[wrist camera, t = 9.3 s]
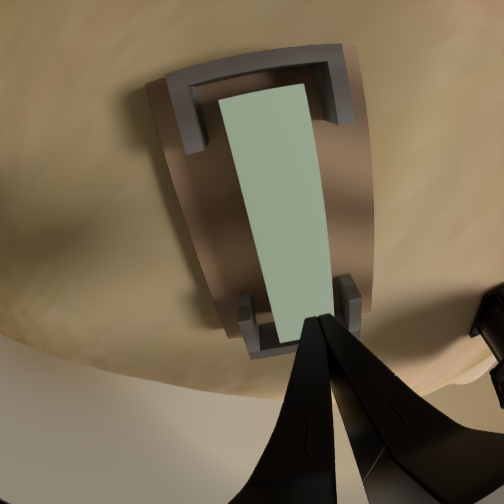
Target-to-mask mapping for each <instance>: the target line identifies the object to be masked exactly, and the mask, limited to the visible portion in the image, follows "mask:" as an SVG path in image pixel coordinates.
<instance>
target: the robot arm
mask: <svg viewBox="0 0 504 504" xmlns="http://www.w3.org/2000/svg"><path fill="white" fill-rule="evenodd" d="M478 335H481V336H482V338H483V339H484V341H485V342H486V344H487V345H488V347H489V348H490V350H491V351H492V353H493V354H494V356H495V358H496V359H497V361H498V362H499V363H498V364H497V365H496V366H495V367H494V368H493V369H492V370H491V371H490V372H489V373H490V375H491V380H492V383H493V385H494V388H495V390H496V393H497V396H498V399H499V402H500V407H501V408H502V409H504V287H502V288H499V289H497V290H494V291H492V292H490V293H487V294H486V295H485V296H484V297H483V300H482V302H481V305H480V308H479V311H478V313H477V316H476V319H475V321H474V324H473V326H472V329H471V331H470V333H469V336H470V337H471V338H473V337H475V336H478ZM394 376H395V374H394V373H393V372H392V371H391V370H390V369H389V368H388V367H387V366H386V365H385V364H384V363H383V362H382V361H380V360H379V359H378V358H377V357H376V356H375V355H374V354H373V353H372V352H371V351H370V350H369V349H368V348H367V347H366V346H365V345H364V344H362V343H361V342H360V341H359V340H358V339H357V338H356V337H355V336H354V335H353V334H352V333H351V332H350V331H349V330H348V329H346V328H345V327H344V326H343V325H342V324H341V323H340V322H339V321H338V320H337V319H336V318H335V317H334V316H333V315H331V314H330V313H326V314H321V315H319V316H318V317H317V316H312V317H307V318H305V319H304V323H303V327H302V331H301V336H300V340H299V344H298V348H297V352H296V356H295V360H294V364H293V368H292V371H291V375H290V379H289V383H288V386H287V390H286V394H285V397H284V402H283V404H282V408H281V411H280V414H279V417H278V420H277V423H276V426H275V428H274V431H273V433H272V435H271V438H270V440H269V442H268V444H267V446H266V448H265V450H264V452H263V454H262V456H261V458H260V460H259V462H258V464H257V466H256V467H255V470H254V471H253V473H252V475H251V476H250V478H249V480H248V481H247V483H246V484H245V486H244V487H243V488H242V489H241V491H240V492H239V493H238V494H237V495H236V496H235V497H234V498H233V499H232V500H231V501H230V502H229V503H228V504H337V492H336V475H335V449H334V428H333V413H332V398H331V388H332V391H333V394H334V397H335V400H336V403H337V406H338V409H339V412H340V414H341V417H342V420H343V423H344V426H345V429H346V432H347V435H348V438H349V442H350V445H351V448H352V450H353V454H354V457H355V460H356V463H357V466H358V469H359V473H360V475H361V479H362V482H363V486H364V489H365V492H366V495H367V499H368V502H369V504H504V434H502V433H494V432H488V431H482V430H475V429H471V428H467V427H464V426H462V425H460V424H458V423H456V422H455V421H453V420H452V419H450V418H449V417H448V416H446V415H445V414H443V413H442V412H441V411H439V410H438V409H436V408H435V407H434V406H432V405H431V404H430V403H428V402H427V401H425V400H424V399H423V398H422V397H420V396H419V395H418V394H416V393H415V392H414V391H413V390H412V389H411V388H409V387H408V386H407V385H406V384H405V383H404V382H403V381H402V380H401V379H400V378H399V377H398V376H395V377H394ZM0 504H9V503H8V502H6V501H4V500H2V499H0Z"/></svg>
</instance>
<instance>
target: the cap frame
mask: <svg viewBox="0 0 504 504" xmlns="http://www.w3.org/2000/svg"><path fill="white" fill-rule="evenodd" d="M297 84H304V87H305V92H306V96H307V101H308V106H309V112H310V117H311V122H312V128H313V133H314V139H315V145H316V151H317V157H318V163H319V170H320V176H321V183H322V191H323V198H324V206H325V214H326V223H327V232H328V241H329V251H330V262H331V274H332V287H333V302H334V317H335V318H336V319H337V320H338V321H339V322H340V323H341V324H342V325H343V326H344V327H345V328H346V329H348V330H349V331H350V332H351V333H352V334H353V335H354V336H355V337H356V338H357V339H358V338H360V326H361V313H364V312H368V311H371V299H372V283H373V259H374V200H373V177H372V161H371V148H370V137H369V128H368V119H367V111H366V103H365V96H364V89H363V83H362V77H361V71H360V66H359V60H358V55H357V50H356V46H342V44H322V45H308V46H298V47H288V48H280V49H273V50H266V51H260V52H254V53H248V54H243V55H238V56H233V57H228V58H224V59H219V60H215V61H211V62H207V63H203V64H199V65H195V66H192V67H188V68H185V69H181V70H178V71H175V72H171V73H168V74H165V78H162V79H159V80H156V81H153V82H150V83H147V84H145V85H146V89H147V93H148V97H149V101H150V105H151V108H152V112H153V116H154V120H155V123H156V127H157V130H158V134H159V137H160V141H161V144H162V148H163V151H164V155H165V158H166V161H167V165H168V168H169V171H170V175H171V178H172V181H173V184H174V187H175V191H176V194H177V197H178V200H179V203H180V206H181V209H182V212H183V215H184V218H185V221H186V224H187V227H188V230H189V233H190V236H191V239H192V242H193V245H194V248H195V251H196V254H197V257H198V259H199V262H200V265H201V268H202V271H203V273H204V276H205V279H206V282H207V284H208V287H209V290H210V293H211V295H212V298H213V301H214V303H215V306H216V309H217V311H218V314H219V316H220V319H221V322H222V324H223V327H224V329H225V332H226V334H227V337H228V339H231V338H238V337H243V339H244V342H245V344H246V347H247V350H248V353H249V356H250V359H251V360H253V359H259V358H265V357H271V356H277V355H283V354H289V353H294V352H297V348H298V344H299V340H300V339H298V340H294V341H289V342H284V343H280V341H279V337H278V333H277V329H276V325H275V321H274V317H273V313H272V309H271V305H270V301H269V297H268V293H267V289H266V285H265V281H264V277H263V273H262V269H261V265H260V261H259V257H258V253H257V249H256V245H255V241H254V237H253V233H252V229H251V226H250V222H249V218H248V214H247V210H246V206H245V202H244V198H243V194H242V190H241V186H240V182H239V179H238V175H237V171H236V167H235V163H234V159H233V155H232V151H231V147H230V144H229V140H228V136H227V132H226V128H225V124H224V120H223V117H222V113H221V109H220V105H219V101H218V100H222V99H226V98H230V97H234V96H238V95H243V94H247V93H252V92H257V91H262V90H267V89H273V88H278V87H284V86H290V85H297Z"/></svg>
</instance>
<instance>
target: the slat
mask: <svg viewBox="0 0 504 504" xmlns="http://www.w3.org/2000/svg"><path fill="white" fill-rule="evenodd" d="M218 101H219V105H220V109H221V113H222V117H223V120H224V124H225V128H226V132H227V136H228V140H229V144H230V147H231V151H232V155H233V159H234V163H235V167H236V171H237V175H238V179H239V182H240V186H241V190H242V194H243V198H244V202H245V206H246V210H247V214H248V218H249V222H250V226H251V229H252V233H253V237H254V241H255V245H256V249H257V253H258V257H259V261H260V265H261V269H262V273H263V277H264V281H265V285H266V289H267V293H268V297H269V301H270V305H271V309H272V313H273V317H274V321H275V325H276V329H277V333H278V337H279V341H280V343H284V342H289V341H294V340H298V339H300V336H301V331H302V327H303V323H304V319H305V318H307V317H312V316H317V317H318V316H319V315H321V314H326V313H330V314H331V315H333V316H334V302H333V287H332V274H331V262H330V251H329V241H328V232H327V223H326V214H325V206H324V198H323V191H322V183H321V176H320V170H319V163H318V157H317V151H316V145H315V139H314V133H313V128H312V122H311V117H310V112H309V106H308V101H307V96H306V92H305V87H304V84H297V85H290V86H284V87H278V88H273V89H267V90H262V91H257V92H252V93H247V94H243V95H238V96H234V97H230V98H226V99H222V100H218Z"/></svg>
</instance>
